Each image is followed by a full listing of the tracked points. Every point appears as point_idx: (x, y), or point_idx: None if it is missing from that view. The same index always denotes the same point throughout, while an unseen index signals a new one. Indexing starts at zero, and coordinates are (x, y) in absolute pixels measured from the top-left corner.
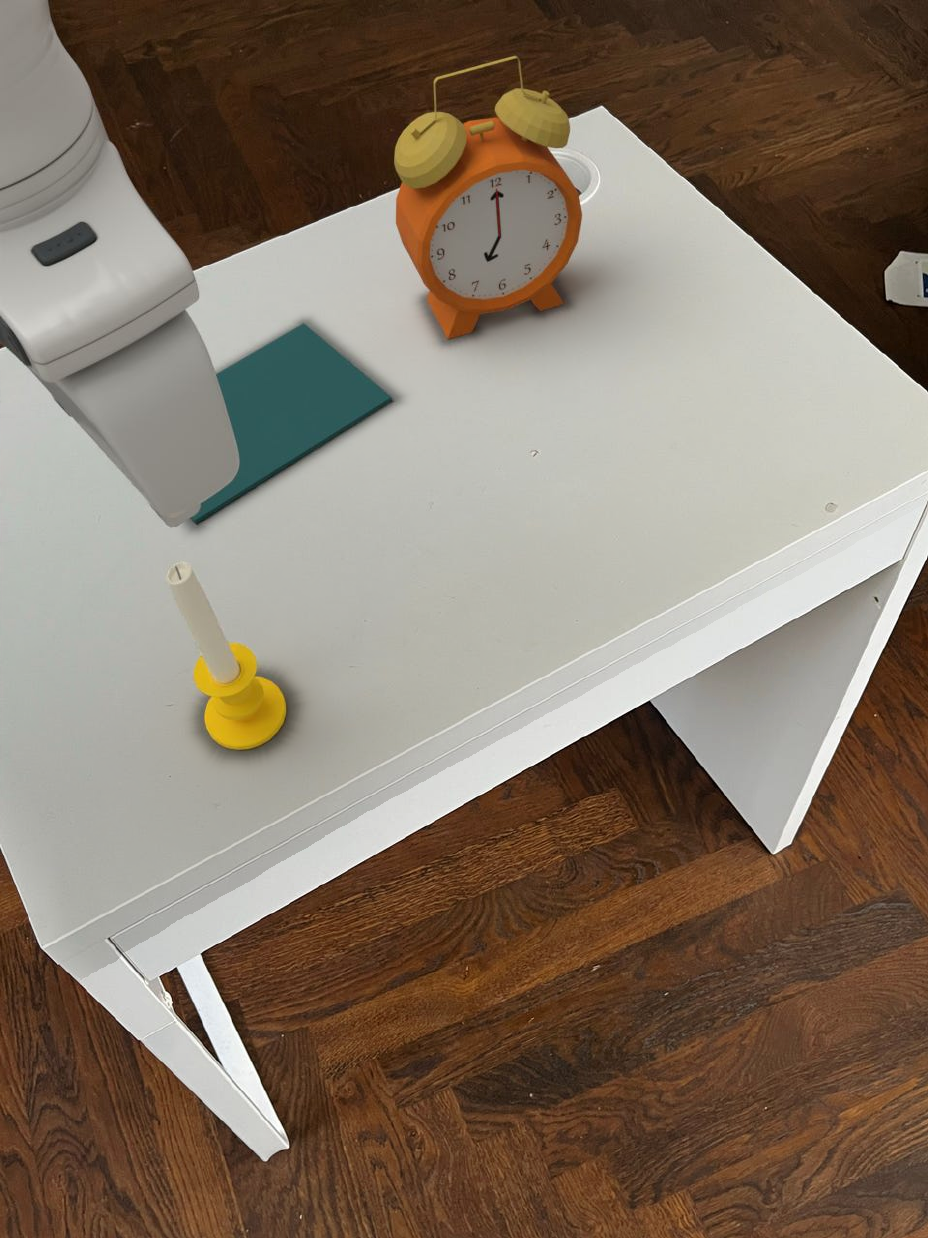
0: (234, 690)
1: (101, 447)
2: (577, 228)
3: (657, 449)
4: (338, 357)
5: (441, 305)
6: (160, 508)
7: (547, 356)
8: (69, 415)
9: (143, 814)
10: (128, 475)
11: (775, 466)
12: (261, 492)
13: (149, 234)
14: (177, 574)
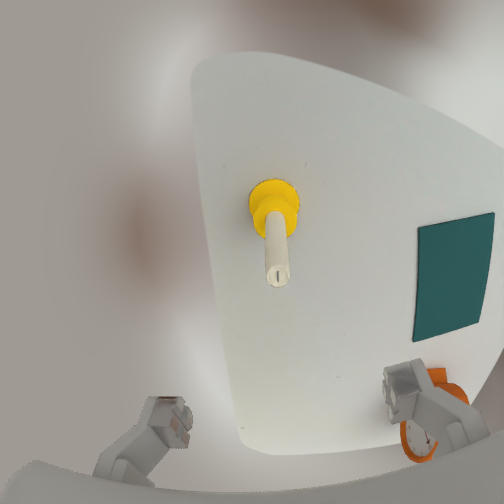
0: (256, 220)
1: (107, 502)
2: (401, 440)
3: (305, 407)
4: (451, 329)
5: (434, 375)
6: (10, 477)
7: (380, 395)
8: (386, 369)
9: (239, 125)
10: (52, 491)
11: (269, 426)
12: (412, 267)
13: None
14: (281, 272)
